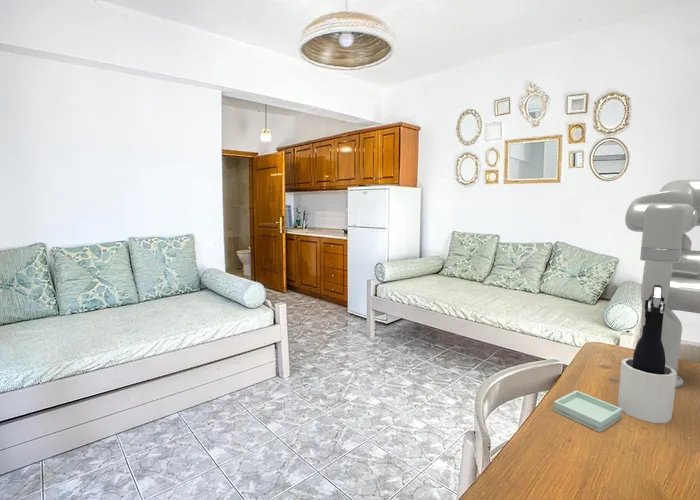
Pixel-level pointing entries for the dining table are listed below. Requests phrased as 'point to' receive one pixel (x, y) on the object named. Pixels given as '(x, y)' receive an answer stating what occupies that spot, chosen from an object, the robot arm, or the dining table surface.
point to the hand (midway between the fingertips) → (652, 323)
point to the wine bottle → (650, 351)
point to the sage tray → (588, 410)
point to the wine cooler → (646, 393)
